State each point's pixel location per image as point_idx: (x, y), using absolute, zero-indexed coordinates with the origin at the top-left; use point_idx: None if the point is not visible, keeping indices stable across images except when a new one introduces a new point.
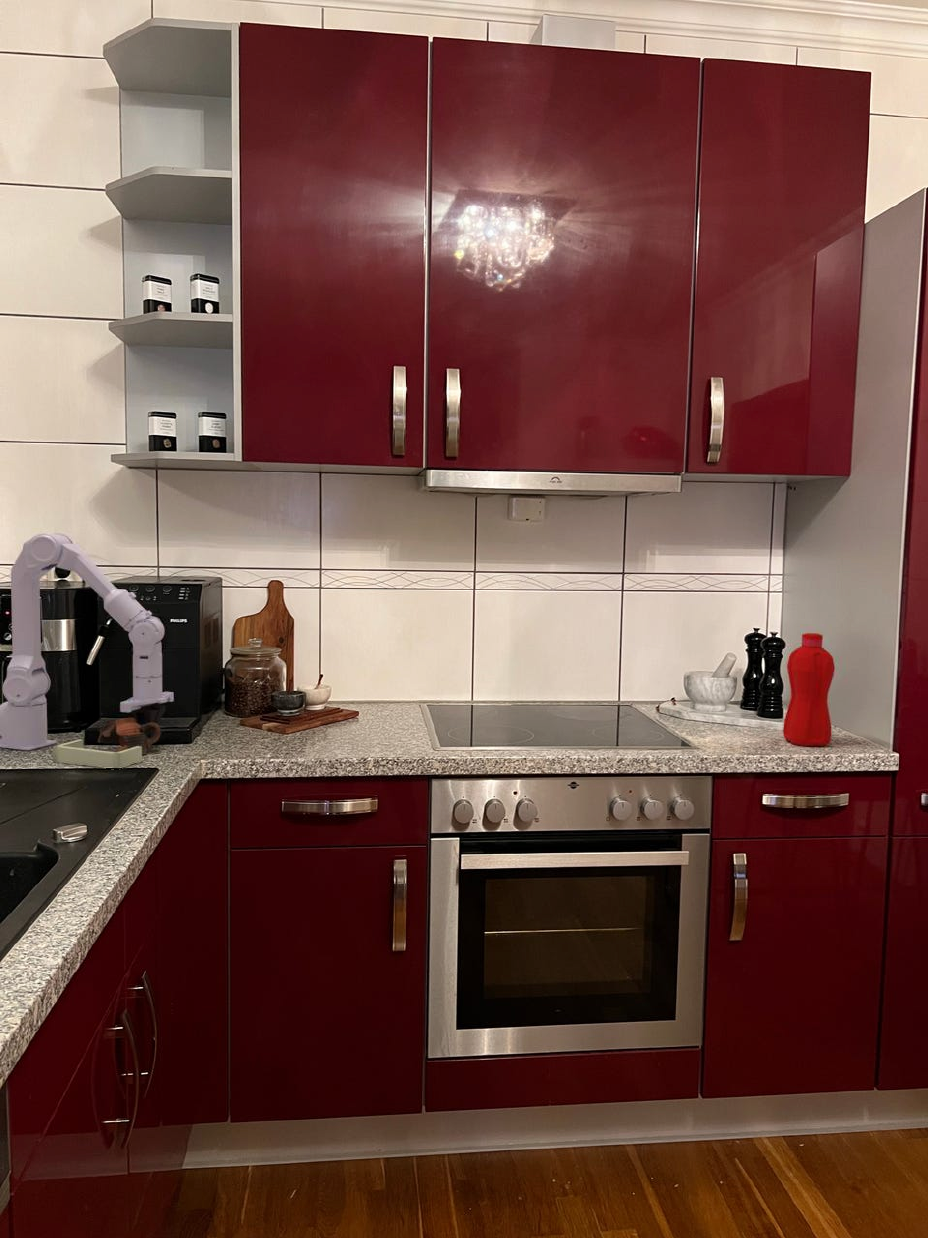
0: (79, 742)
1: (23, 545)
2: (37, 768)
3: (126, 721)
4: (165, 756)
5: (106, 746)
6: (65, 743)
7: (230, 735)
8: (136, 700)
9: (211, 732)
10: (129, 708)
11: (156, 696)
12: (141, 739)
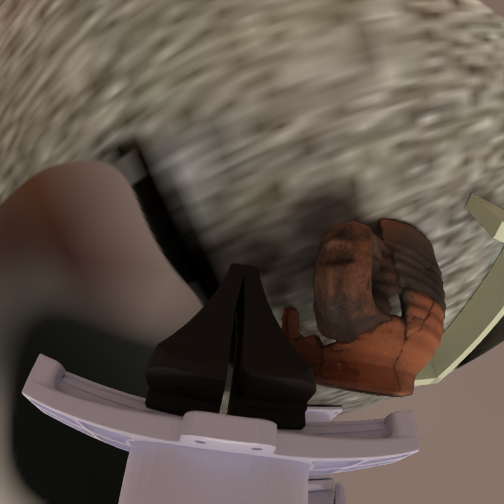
0: None
1: None
2: None
3: (403, 376)
4: (401, 136)
5: None
6: (415, 384)
7: (3, 98)
8: (329, 466)
9: (4, 177)
10: (411, 426)
11: (255, 473)
12: (413, 268)
